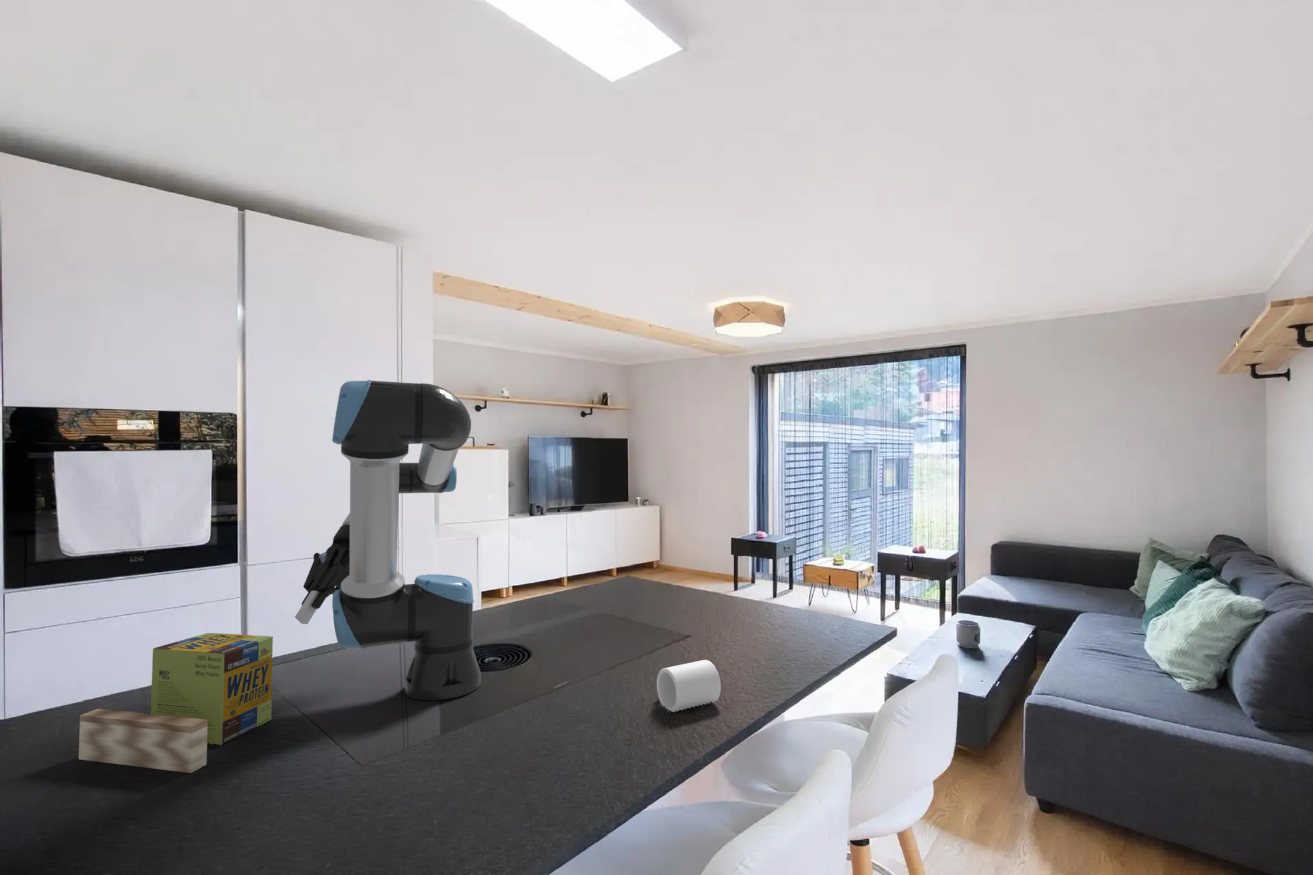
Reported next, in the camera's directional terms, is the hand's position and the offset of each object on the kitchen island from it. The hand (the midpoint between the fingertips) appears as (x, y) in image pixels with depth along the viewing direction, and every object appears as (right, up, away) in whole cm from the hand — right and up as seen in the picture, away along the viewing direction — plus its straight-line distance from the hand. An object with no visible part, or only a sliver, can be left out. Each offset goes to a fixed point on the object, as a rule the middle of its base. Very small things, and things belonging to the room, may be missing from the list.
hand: (301, 620), depth 129 cm
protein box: (-4, -14, -20) cm, 25 cm away
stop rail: (-7, -13, -32) cm, 35 cm away
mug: (+81, -14, -9) cm, 83 cm away
